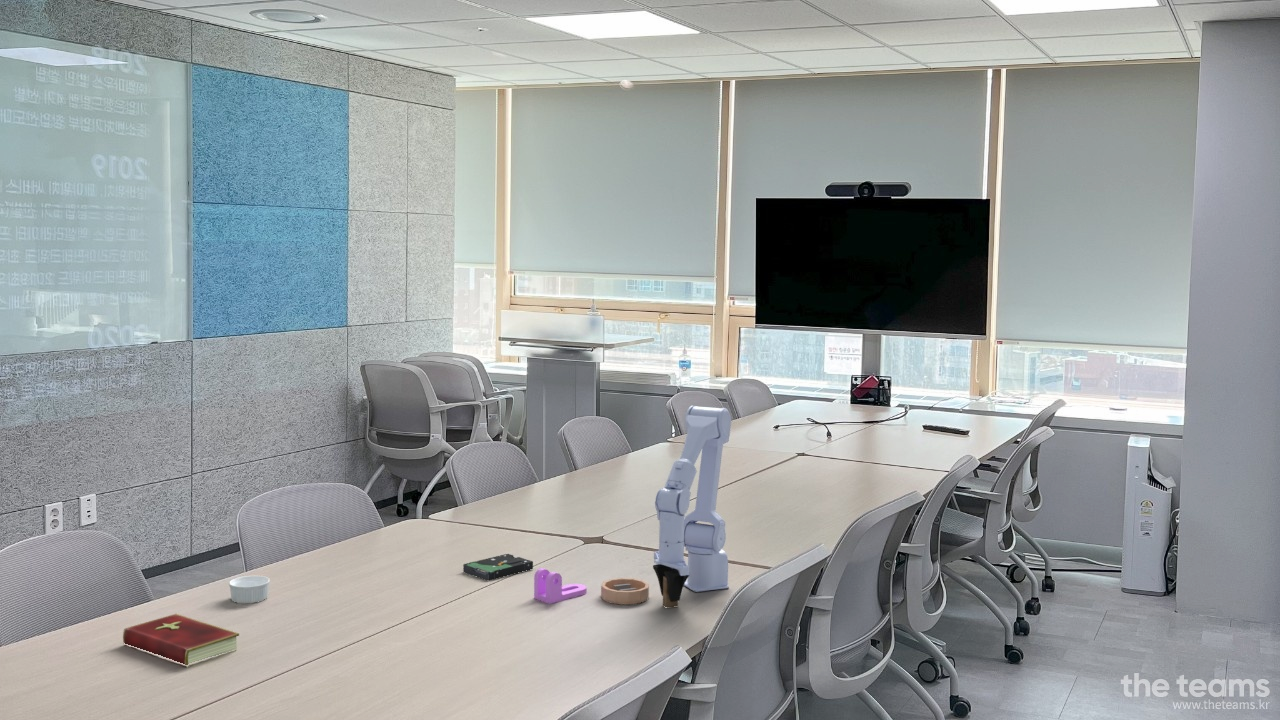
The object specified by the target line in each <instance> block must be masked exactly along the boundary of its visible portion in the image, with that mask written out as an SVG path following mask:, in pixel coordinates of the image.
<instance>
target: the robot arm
mask: <svg viewBox="0 0 1280 720" xmlns="http://www.w3.org/2000/svg"><path fill="white" fill-rule="evenodd" d="M684 418H685V419H684V421H685V429H686V437H685V440H684V445H683V447H682V451H681V454H680V455H681V456H680V459H677V460H676V461H674V462H673V463H672V467H671V468H670V471H669V475H668V477H667V479H666V482H665V484H664V487H662V488H661V489H660V488H659V490H658V491H657V493H656V494H655V495H656V496H655V502H654V506H655V511H656V514H657V516H656V518H657V520H658V521H659V525H658V526H659V527H658V529H659V530H658V532H659V533H658V551H657V550H656V551H654V552H653V562H654V564H653V565H652V568H653V570H654V572H655V575H656V577H657V581H658V585H659V590H660V594H661V596H662V597H663V576H666V579H667V583H668V588H669V598H670V601H671V602H674V601H678V602H679V601H680V600H681V596H682V592H683V588H684V587H686V588H688V589H690V590H691V591H693V592H695V593H696V592H697V593H700V592H708V591H714V590H715V591H716V590H723V589H729V588H730V585H728V584H729V582H728V581H729V577H728V576H729V559H728V554H727V552H726V551H725V550H724V549H723V548H724V546H725V543H726V538H727V536H726V521H725V519H724V518H722V517H721V516H720V515H719V513H718V512H717V511H716V508H717V507H716V506H717V502H718V501H717V498H718V491H719V482H720V473H721V465H722V457H723V448H724V444H726V443H728V442H729V441H730V436H731V427H732V417H731V413H730V411H729V410H728V408H726V407H722V408H721V407H708V406H696V405H690V406H689V407H688V409H687V410H686V413H685V417H684ZM700 454H701V457H700V466H699V474H698V484H697V491H696V497H695V498H696V499H695V500H696V501H695V508H694V509H693V511H691V512H690V513H687V512H688V510H689V508H690V503H691V499H690V498H691V495H692V494H691V488H692V485H693V482H694V479H695V477H696V474H697V472H698V471H697V467H696V466H695V465H696V463H697V460H698V459H699V455H700ZM685 514H687V515H685ZM700 522H703V523H700ZM706 523H707V524H706ZM708 523H709V524H708ZM685 551H687V562H686V560H685V556H684V555H685V554H684V553H685Z"/></svg>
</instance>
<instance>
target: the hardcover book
mask: <svg viewBox="0 0 1280 720" xmlns="http://www.w3.org/2000/svg"><path fill="white" fill-rule="evenodd" d="M238 636H239V637H240V633H238V632H235V631H233V630H229V629H226V628H223V627H220V626H216V625H213V624H210V623H207V622H204V621H201V620H197V619H194V618H191V617H187V616H184V615H182V614H179V613H174V614H170V615H167V616H163V617H159V618H156V619H154V620H153V619H152V620H150V621H145V622H143V623H138V624H134V625H131V626H128V627H125V628H124V629H123V633H122V640H123V642H122V643H123V644H124V643H125V644H128V645H131V646H134V647H137V648H140V649H143V650H146V651H149V652H152V653H154V654H158V655H161V656H163V657H166V658H169V659H172V660H174V661H177V662H180V663H183V664H185V665H188V664H189V663H192V662H195V661H199V660H202V659H205V658H208V657H212V656H216V655H219V654H222V653H226V652H229V651H232V650H236V649H237V650H238V648H237V647H238V646H237V637H238Z"/></svg>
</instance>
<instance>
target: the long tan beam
mask: <svg viewBox="0 0 1280 720" xmlns="http://www.w3.org/2000/svg"><path fill="white" fill-rule="evenodd" d="M664 606H665V607H672V608H675V607H674V606H678V607H679V601H674V602H671V601H670V598H669V588H668V583H667V579H666V576H663V596H662V607H664ZM665 607H664V608H665Z"/></svg>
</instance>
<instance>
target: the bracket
mask: <svg viewBox="0 0 1280 720" xmlns="http://www.w3.org/2000/svg"><path fill="white" fill-rule="evenodd" d="M533 580H534V581H533V582H534V583H533V587H534V588H533V589H534V590H533V592H534V593H533V598H534V599H535V600H538V601H540V600H541V601H540V602H543V601H544V603H546V604H553V603H554V604H555V603H558V602H561V601H565V600H568V599H572V598H576V597H579V596H584V595H585V594H587V588H588V587H587V585H584V584H581V583H568V584H565V585H563V577H562V575H561V574H560V573H559V572H555V571H551V572H550V570H548V569H546V568H544V567H541V568H538V569H537V570H536V571H535V573H534V577H533Z"/></svg>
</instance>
